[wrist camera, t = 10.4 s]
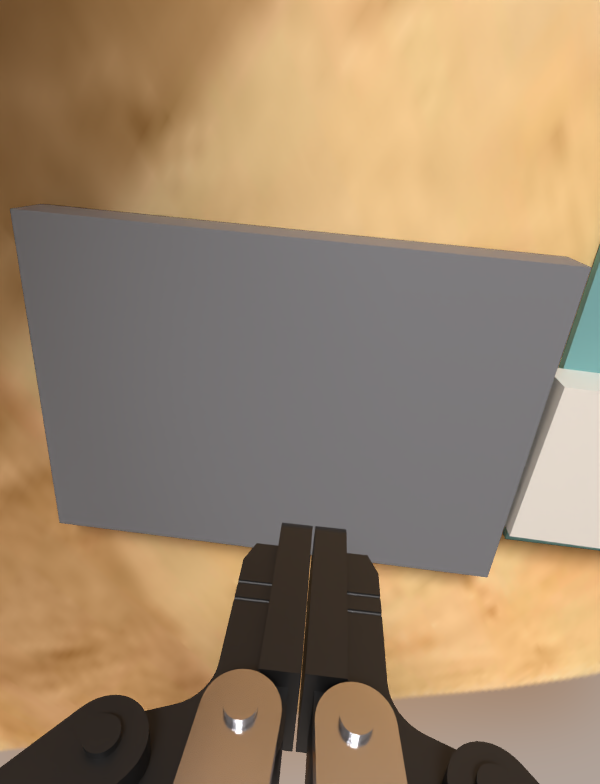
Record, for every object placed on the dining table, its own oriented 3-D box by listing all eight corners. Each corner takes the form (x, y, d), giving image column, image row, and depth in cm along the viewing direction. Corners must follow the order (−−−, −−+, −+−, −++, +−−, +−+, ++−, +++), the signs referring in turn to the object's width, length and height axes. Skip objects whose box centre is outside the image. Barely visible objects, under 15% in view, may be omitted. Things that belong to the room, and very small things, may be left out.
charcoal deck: (41, 203, 19) (10, 208, 17) (567, 256, 18) (591, 267, 17) (80, 496, 25) (59, 522, 23) (477, 546, 24) (487, 577, 23)
